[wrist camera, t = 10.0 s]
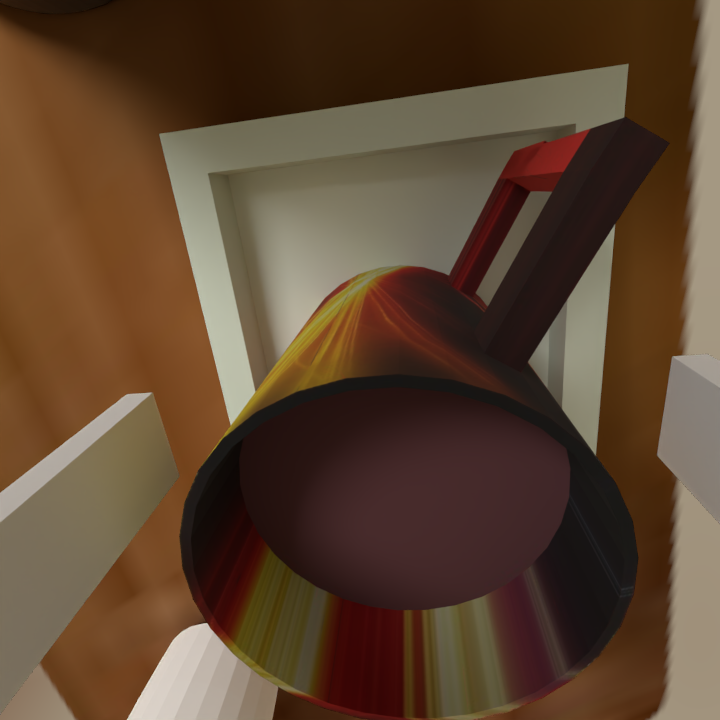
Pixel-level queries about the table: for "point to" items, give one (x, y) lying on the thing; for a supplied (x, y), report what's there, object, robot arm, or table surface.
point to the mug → (428, 475)
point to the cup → (204, 683)
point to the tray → (379, 216)
